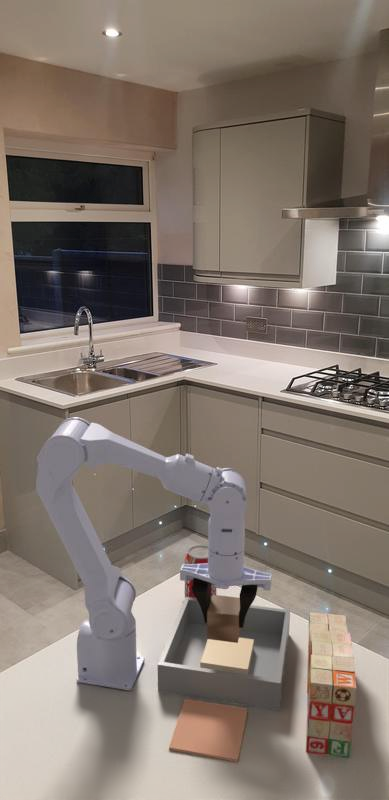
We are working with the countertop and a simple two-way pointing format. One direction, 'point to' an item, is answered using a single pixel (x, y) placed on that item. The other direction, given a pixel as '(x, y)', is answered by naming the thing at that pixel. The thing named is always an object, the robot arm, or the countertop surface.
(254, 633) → the grey crate
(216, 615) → the walnut block
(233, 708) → the terracotta mat
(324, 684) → the stack of blocks
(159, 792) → the countertop surface
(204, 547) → the beverage can
